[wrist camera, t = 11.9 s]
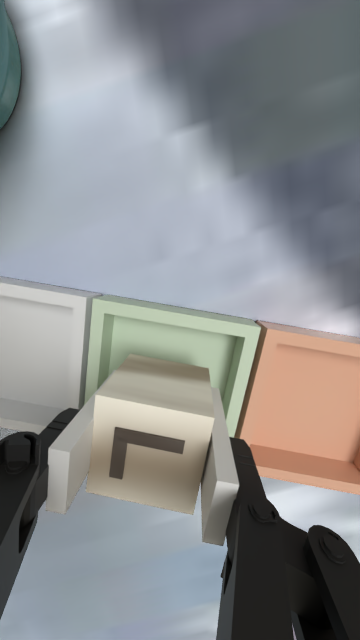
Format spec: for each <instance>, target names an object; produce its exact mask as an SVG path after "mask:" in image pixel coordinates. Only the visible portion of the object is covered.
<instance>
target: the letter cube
mask: <svg viewBox="0 0 360 640" xmlns="http://www.w3.org/2000/svg"><path fill="white" fill-rule="evenodd" d="M93 417H94V425H93V436H92V446H91V457H90V467H89V471H88V477H87V487H86V492H88V493H93V494H98V495H102V496H107V497H112V498H116V499H121V500H126V501H130V502H135V503H140V504H144V505H149V506H154V507H158V508H163V509H168V510H172V511H177V512H182V513H186V514H191V515H193V513H194V509H195V504H196V500H197V495H198V491H199V486H200V482H201V477H202V473H203V468H204V464H205V459H206V455H207V450H208V446H209V441H210V437H211V432H212V428H213V424H214V419H215V416H214V408H213V399H212V391H211V383H210V374H209V368H205V367H200V366H194V365H189V364H184V363H178V362H173V361H167V360H162V359H157V358H151V357H146V356H141V355H135V354H130V355H129V356H128V357H127V358H126V359H125V360H124V362H123V363H122V364H121V365H120V366H119V368H118V369H117V370H116V371H115V372H114V373H113V375H112V376H111V377H110V378H109V379H108V381H107V382H106V383H105V384H104V385H103V386H102V388H101V389H100V390H99V391H98V392H97V393H96V395H95V405H94V415H93Z"/></svg>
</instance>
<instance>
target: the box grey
mask: <svg viewBox="0 0 360 640" xmlns="http://www.w3.org/2000/svg"><path fill="white" fill-rule="evenodd" d="M101 296H102V294H101V293H95V292H89V291H83V290H77V289H72V288H66V287H60V286H54V285H48V284H42V283H36V282H31V281H25V280H19V279H13V278H7V277H1V276H0V427H1V428H7V429H12V430H17V431H23V432H25V431H29V432H34V433H36V434H40V433H41V432H42V431H43V430H44V429H45V428H46V426H47V425H48V424H49V423H50V422H52V420H53V419H54V418H55V417H56V416H57V415H58V414H59V413H61V412H62V411H64V410H66V409H68V408H74V409H79V410H81V409H82V408H83V406H84V401H85V389H86V376H87V364H88V352H89V339H90V327H91V315H92V302H93V298H97V297H101Z"/></svg>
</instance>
